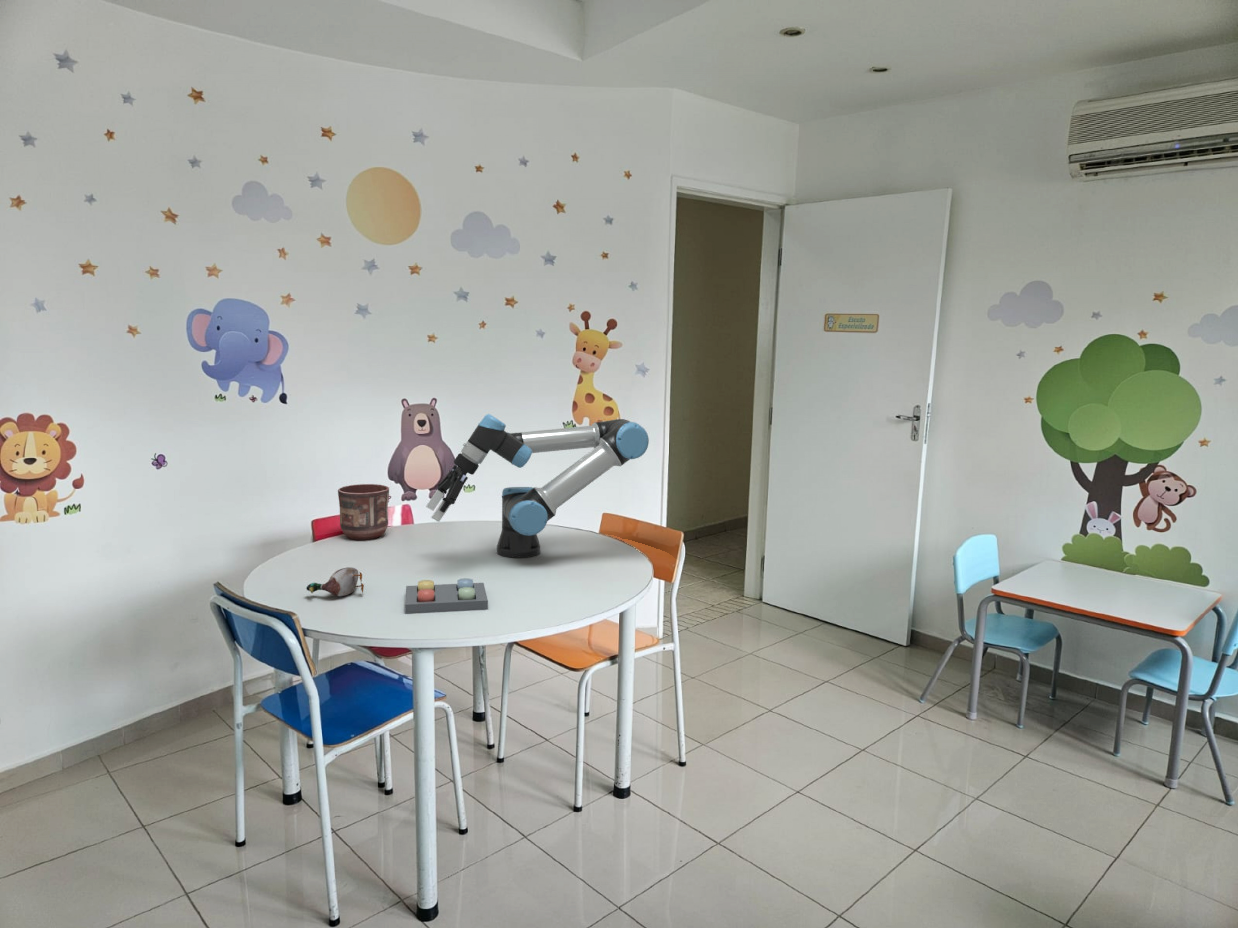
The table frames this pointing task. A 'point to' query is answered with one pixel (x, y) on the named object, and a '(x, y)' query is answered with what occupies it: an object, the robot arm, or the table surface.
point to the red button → (426, 595)
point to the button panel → (445, 599)
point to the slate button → (464, 583)
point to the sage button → (466, 593)
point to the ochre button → (425, 584)
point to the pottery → (363, 510)
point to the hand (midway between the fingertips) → (432, 514)
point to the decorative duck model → (339, 582)
